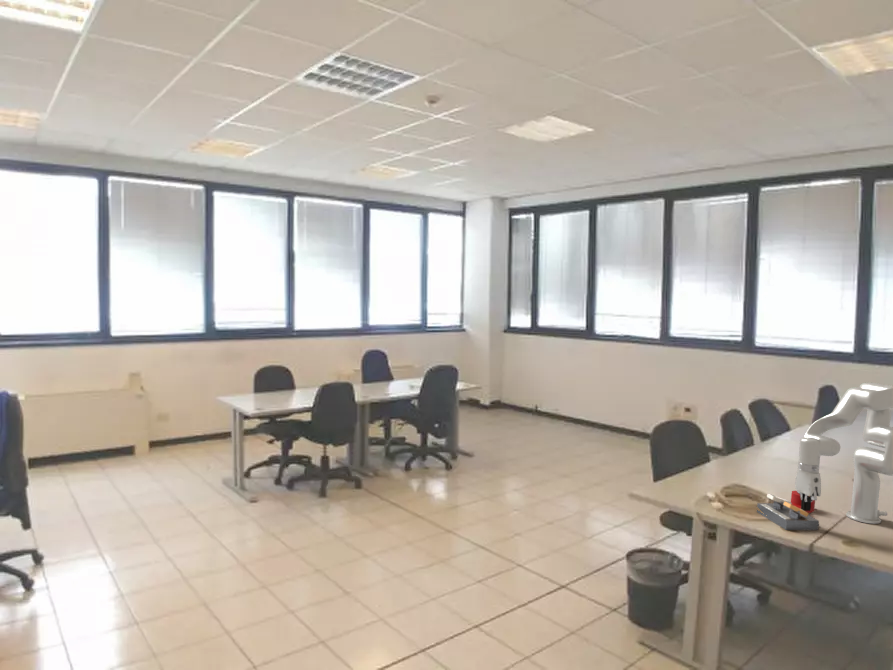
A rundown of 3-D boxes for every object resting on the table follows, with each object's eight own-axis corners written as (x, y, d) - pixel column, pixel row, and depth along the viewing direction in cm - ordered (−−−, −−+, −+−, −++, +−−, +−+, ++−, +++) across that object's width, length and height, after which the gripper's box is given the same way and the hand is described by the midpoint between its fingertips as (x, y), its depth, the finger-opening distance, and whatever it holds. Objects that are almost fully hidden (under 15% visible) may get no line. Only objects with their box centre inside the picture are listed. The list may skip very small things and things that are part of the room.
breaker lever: (799, 513, 256) (801, 509, 256) (807, 517, 251) (809, 513, 251) (782, 504, 255) (784, 500, 255) (789, 508, 250) (791, 504, 250)
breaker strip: (786, 512, 269) (787, 500, 268) (817, 530, 249) (819, 516, 249) (756, 512, 268) (757, 499, 267) (786, 529, 248) (787, 516, 247)
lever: (791, 503, 281) (793, 489, 281) (815, 508, 276) (816, 494, 275) (786, 512, 267) (787, 498, 266) (810, 518, 261) (812, 503, 261)
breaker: (783, 503, 267) (785, 499, 267) (790, 507, 262) (792, 503, 262) (765, 496, 266) (767, 492, 266) (772, 500, 261) (774, 496, 261)
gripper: (830, 472, 245) (826, 516, 246) (804, 462, 259) (801, 503, 261) (812, 472, 244) (809, 517, 245) (788, 462, 259) (785, 503, 260)
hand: (805, 509), depth 253 cm, fingers closed
